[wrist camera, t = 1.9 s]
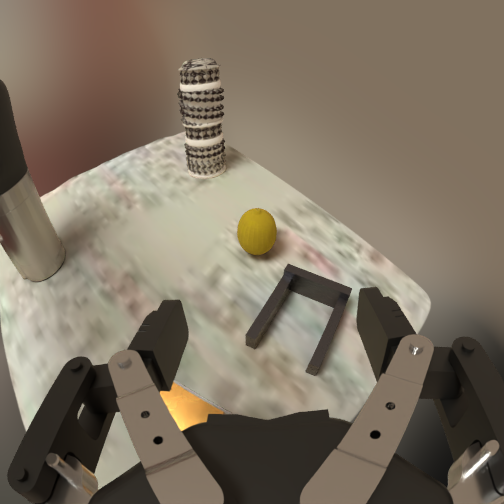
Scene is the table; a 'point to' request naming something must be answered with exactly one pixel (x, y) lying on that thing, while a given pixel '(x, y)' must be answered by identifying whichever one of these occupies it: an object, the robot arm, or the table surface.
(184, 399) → the block
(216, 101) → the decorative candle
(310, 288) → the channel
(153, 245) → the table surface
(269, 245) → the lemon
